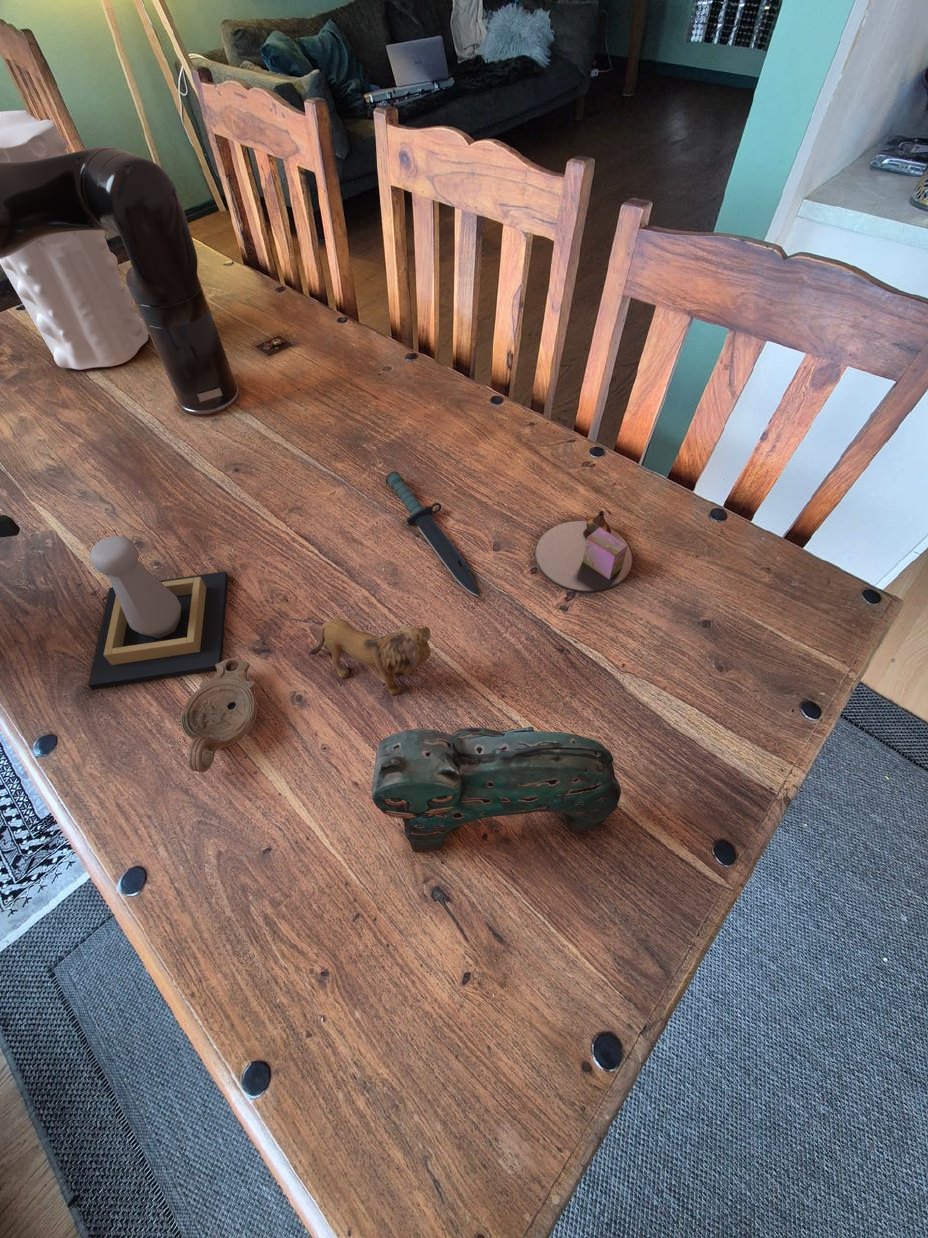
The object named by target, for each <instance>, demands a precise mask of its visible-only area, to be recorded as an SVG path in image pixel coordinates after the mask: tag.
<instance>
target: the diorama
mask: <svg viewBox="0 0 928 1238" xmlns="http://www.w3.org/2000/svg"><path fill="white" fill-rule="evenodd" d="M292 346H294V344H293V343H291V342H290V341H288V340H287V339H285V337H282V336H281V335H277V336H272V338H270V339H268V340H266V341H264V342H261V343H259V344H257V345H255V346H254V347H255V348H257V349H258V350H260V351H261V352H263V353H264V354H265V355H267V356H268V357H271V356H273V355H275V354H278V353H280V352H281V351H283V350H286V349H288V348H290V347H292Z"/></svg>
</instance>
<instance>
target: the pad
mask: <svg viewBox="0 0 928 1238" xmlns="http://www.w3.org/2000/svg"><path fill="white" fill-rule="evenodd" d="M229 577H230V576H229V574H228V573H227V571H226V570H225V571H217V572H211V573H210V572H209V573H203V574H197V575H190V576H184V577H183V576H182V577H176V578H175V577H174V578H168V579H162V580H161V579H160V580H159V581H160V582H161V583H162V584H163V585H164V586H166V587H167V588H168V589H169V590H170V591H171V592H172V593H173V594H174V595H175V596H176V597H177V599H178V601H179V602H180V605H181V618H180V621H179V623H178V626H177V628H176V630H175V632H173V633H171V634H169V635H166V636H164V637H162V638H160V639H158V638H154V637H151V636H147V635H143V634H140V633H138V632H136V631H135V630H133V629H132V628H130V626H129V624H128V621H127V619H126V617H125V614H124V612H123V610H122V607H121V605H120V603H119V600H118V598H117V596H116V593H115V591H114V589H113V586H112V587H109V588H108V592H107V597H106V600H105V601H106V602H105V605H104V610H103V615H102V620H101V624H100V629H99V633H98V637H97V638H98V639H97V642H96V647H95V651H94V656H93V659H92V660H93V661H92V666H91V670H90V674H89V678H88V683H87V686H88V687H89V688H90V689H91V690H93V691H94V690H100V689H105V688H106V689H107V688H114V687H121V686H127V685H131V684H138V683H139V684H140V683H145V682H152V681H160V680H166V679H172V678H179V677H184V676H192V675H199V674H204V673H211V672H217V669H216V666H215V664H218V663H220V662H222V661H223V657H224V645H225V644H224V643H225V630H226V617H227V605H228V604H227V602H228V591H229V590H228V589H229Z"/></svg>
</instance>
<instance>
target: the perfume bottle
mask: <svg viewBox="0 0 928 1238" xmlns="http://www.w3.org/2000/svg"><path fill="white" fill-rule="evenodd" d="M534 556H535V557H534V558H535V561H536V565H537V567H538V568H539V571H540V572H541V573H542V575H544V577H545V578H547V579H548V581H550V582H551V583H552V584H555V585H556V586H558V587H560V588H562V589H565V590H568V591H571V592H576V593H584V594H585V593H586V594H587V593H588V594H591V593H593V594H594V593H600V592H604V591H608V590H610V589H613V588H614V587H616V586H618V585H620V584H621V583H622V582H623V581H624V580H625V579H626V578H627V577H628V575H629V574H630V573H631V572H630V571H631V569H632V566H633V555H632V551H631V549H630V547H629V544H628V543H627V542H626V540H625V539H624V538H623V537H622V536H621V535H620V534H619V533H618V532H616V531H615V530H613V529H611V526H609V524H608V522H607V521H606V519H605V511H603V510H599V512H598V514H597V515H595V516H593V517H591V518H589V519H588V520H587V521H585V520H575V521H574V520H573V521H568V522H567V521H566V522H563V523H560V524H557V525H555V526H553V527H551V528H550V529H548V530H547V531H546V532H545V533H544V534H543V535H541V537H540V538H539V540H538V542H537V544H536V546H535V552H534Z"/></svg>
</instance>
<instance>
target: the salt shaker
mask: <svg viewBox="0 0 928 1238" xmlns="http://www.w3.org/2000/svg"><path fill="white" fill-rule="evenodd" d="M89 557H90V561H91V562H92V565H93V567H94V568H95V570H96V571H97V572H98V573H100V574H102V575H104V576H105V577H108V579H109V582H110V585H111V586H112V587H113V589H114V591H115V593H116V596H117V598H118V600H119V603H120V605H121V607H122V610H123V612H124V614H125V617H126V619H127V621H128V624H129V626H130V628H132V629H133V630H135V631H136V632H138V633H140V634H143V635H147V636H151V637H154V638H158V639H160V638H162V637H164V636H166V635H169V634H171V633H173V632H175V630H176V628H177V626H178V623H179V621H180V618H181V605H180V602H179V601H178V599H177V597H176V596H175V595H174V594H173V593H172V592H171V591H170V590H169V589H168V588H167V587H166V586H164V585H163V584H162V583H161V582H160V581H161V580H159V578H157V577H156V576H155V575H154V574H153V573H152V572H150V570H149V569H147V568H146V567H145V566H144V565H143V564H142V563H141V562H140V561H139V559H140V552H139V550H138V548H137V546H136V545H135V543H134V542H133V541H132V540H131V539H130V538H129V537H127V536H124V535H111V536H107V537H104V538H102V539H100V540H99V541H97V542H96V543H95V545H94V546H93V547H92V548H91V551H90V555H89Z"/></svg>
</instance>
